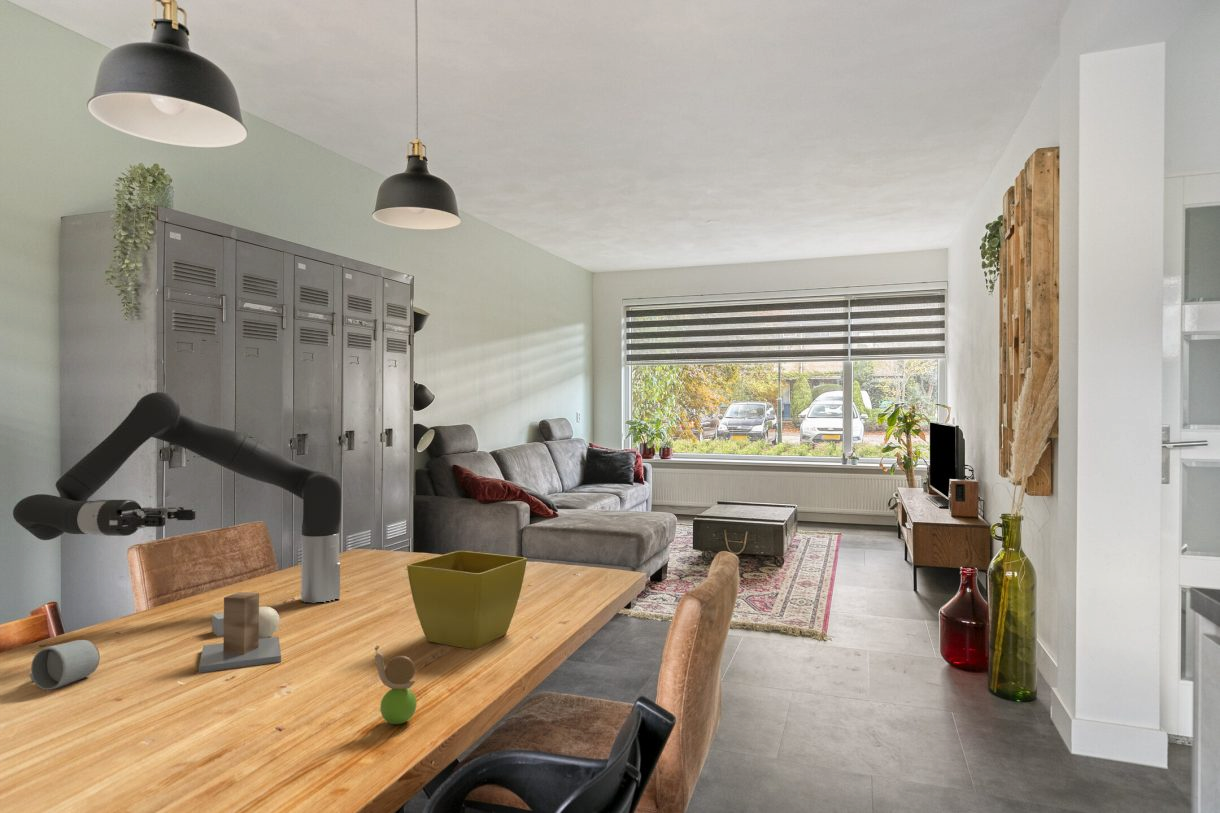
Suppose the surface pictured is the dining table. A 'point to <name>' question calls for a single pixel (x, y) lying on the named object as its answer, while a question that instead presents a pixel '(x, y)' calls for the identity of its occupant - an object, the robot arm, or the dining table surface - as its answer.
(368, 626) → the dining table surface
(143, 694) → the dining table surface
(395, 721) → the snail figurine
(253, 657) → the plate
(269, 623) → the steamed bun
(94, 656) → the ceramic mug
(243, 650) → the walnut block
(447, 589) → the flower pot
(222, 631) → the grey block
